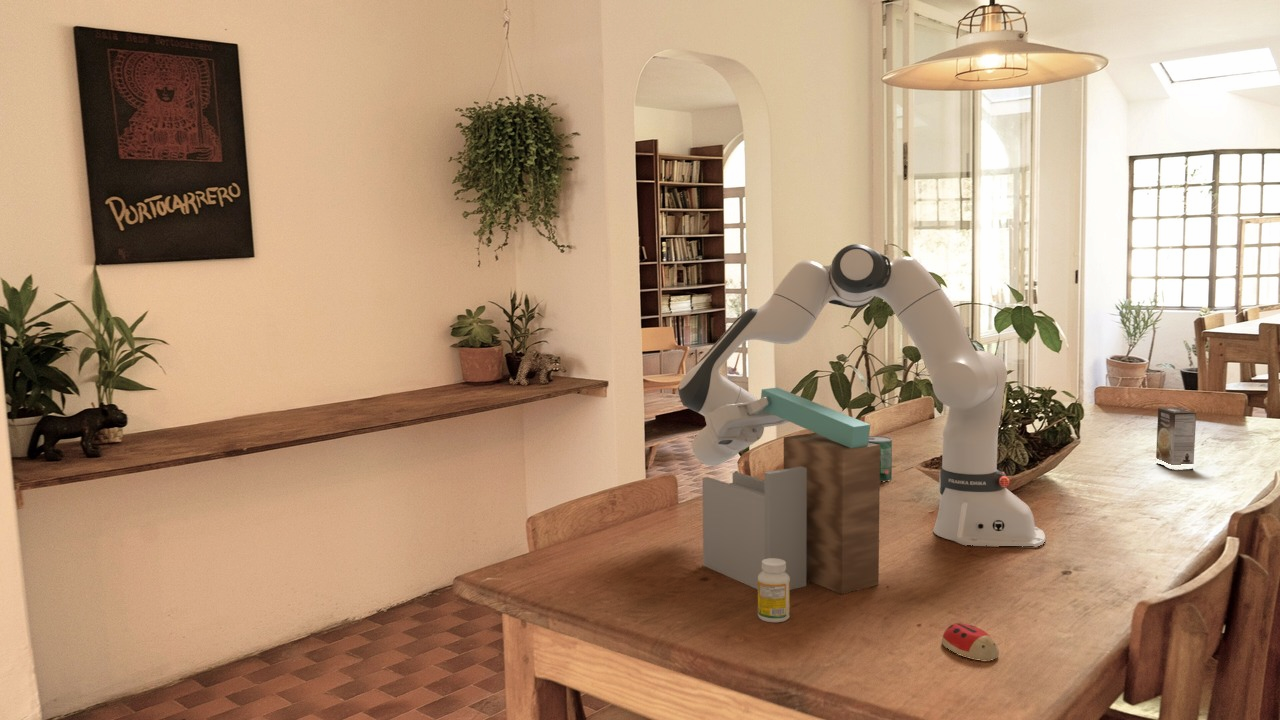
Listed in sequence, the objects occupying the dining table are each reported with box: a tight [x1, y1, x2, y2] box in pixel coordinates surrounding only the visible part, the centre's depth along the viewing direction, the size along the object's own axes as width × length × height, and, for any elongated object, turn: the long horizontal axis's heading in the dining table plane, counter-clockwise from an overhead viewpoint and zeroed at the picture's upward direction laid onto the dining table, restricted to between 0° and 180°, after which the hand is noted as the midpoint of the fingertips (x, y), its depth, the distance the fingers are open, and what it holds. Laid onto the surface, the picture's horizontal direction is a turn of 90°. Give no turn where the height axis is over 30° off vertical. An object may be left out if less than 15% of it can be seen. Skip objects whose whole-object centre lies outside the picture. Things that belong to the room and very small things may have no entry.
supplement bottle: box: [757, 558, 791, 623], centre depth 165 cm, size 5×5×10 cm
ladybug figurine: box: [941, 622, 1000, 660], centre depth 151 cm, size 7×10×4 cm
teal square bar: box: [760, 387, 871, 449], centre depth 187 cm, size 26×4×4 cm, turn 32°
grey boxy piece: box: [701, 467, 807, 591], centre depth 186 cm, size 20×8×22 cm, turn 32°
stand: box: [783, 432, 881, 595], centre depth 184 cm, size 16×9×26 cm, turn 32°
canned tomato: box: [868, 435, 893, 483], centre depth 265 cm, size 8×8×11 cm
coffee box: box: [1155, 406, 1197, 465], centre depth 273 cm, size 9×6×16 cm
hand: (779, 398), depth 195 cm, fingers closed on teal square bar, 4 cm apart
